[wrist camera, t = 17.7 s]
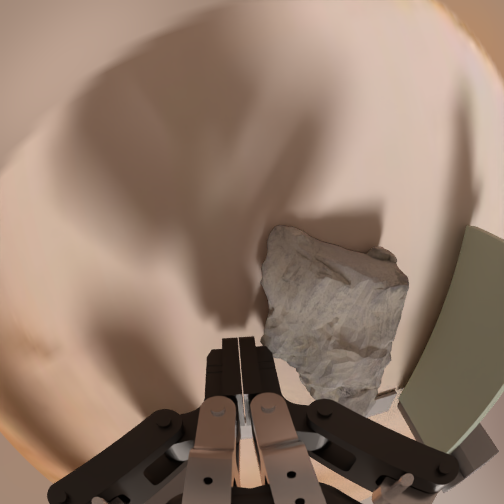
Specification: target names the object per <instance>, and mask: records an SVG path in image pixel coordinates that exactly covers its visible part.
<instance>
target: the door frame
mask: <svg viewBox="0 0 504 504" xmlns="http://www.w3.org/2000/svg"><path fill="white" fill-rule="evenodd" d="M396 394H397V393H396V391H394V392H390V393H387V394H384V395H380V396H377V397H375V400H376V403H375V404H374V405H373V407H372V408H371V410H370V411H369V412H368V414H367V416H366V418H367V417H370V416H374V415H377V414H380V413H384V412H387V411H388V410H389V408H390V406H391V404H392V402H393V400H394V398H395V396H396ZM398 409H399V410H400V412H401V414H402V416H403V417H404V419H405V421H406V423H407V425H408V426H409V428H410V430H411V432H412V434H413V435H414V437H415V439H416V441H417V442H420V443H422V444H424V442H423V440H422V439H421V437H420V435H419V433H418V431H417V430H416V428H415V426H414V424H413V423H412V421H411V419H410V417H409V416H408V414H407V412H406V411H405V409H404V407H403V405H402V404H401V402H400V403H399V404H398ZM240 428H241V439H249V438H252V428H251V425H249V426H247V425H246V420H245V426H240ZM424 445H425V444H424ZM498 452H499V451H498V449H497V448H496V446H495V444H494V443H493V441H492V440H491V438H490V437H489V436H488V434H487V433H486V431H485V430H484V428H483V427H482V425H481V424H480V423H479V424H478V425H477V426H476V427H475V429H474V430H473V431H472V432H471V433H470V434H469V435H468V436H467V437H466V438H465V440H464V441H463V442H462V443H461V444H460V445H459V446H458V447H457V448H456V449H455V450H454V451H453V452H452V453H451V454H450V455H452V456H454V457H455V458H456V459H457V461H458V463H459V472H458V475H457V477H456V478H455V479H454V480H453V481H452V482H451V483H449V484H448V485H447V486H445V487H444V488H443V489H442V491H443V493H445V492H447V491H448V490H450V489H452V488H453V487H455V486H456V485H457V484H459V483H460V482H461V481H463V480H464V479H465V478H467V477H468V476H470V475H471V474H472V473H474V472H475V471H477V470H478V469H479V468H481V467H482V466H483V465H485V463H487V462H488V461H489V460H491V459H492V458H493V457H494V456H495V455H496V454H497V453H498ZM186 469H187V467H186V468H184V469H183V470H182V471H181V472H180V473H179V474H178V475H177V476H176V477H175V478H173V479H172V480H171V481H170V482H169V483H168V484H167V485H165V486H164V487H163V488H162V489H161V490H160V491H158V492H157V493H156V494H155V495H154V496H152V497H151V498H150V499H149V500H148V501H146V502H145V503H144V504H166V503H167V502H168V501H169V500H170V499H172V498H173V497H175V496H177V495H179V494H181V493H183V491H184V483H185V476H186Z"/></svg>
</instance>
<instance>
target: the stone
mask: <svg viewBox="0 0 504 504" xmlns="http://www.w3.org/2000/svg"><path fill="white" fill-rule="evenodd" d="M267 249H268V252H267V257H266V260H265V261H264V263H263V264H262V268H261V270H262V280H261V285H262V287H263V289H264V291H265V294H266V296H267V299H268V304H269V314H268V317H267V321H266V325H265V330H264V335H263V336H262V337H261V341H260V342H261V343H262V345H263V346H267V347H268V349H269V350H270V351H271V352H272V354H273V357H274V358H281V359H283V360H284V361H286V362H287V363H288V364H289V365H290V366H292V367H294V368H296V371H297V372H298V373H299V374H300V376H299V378H300V381H301V382H302V384H303V385H305V387H306V389H307V390H308V392H310V395H311V396H312V397H313V398H314V399H315V400H318V399H331V400H334V401H336V402H338V403H339V404H341V405H343V406H345V407H347V408H349V409H351V410H352V411H354V412H356V413H358V414H360V415H362V416H364V417H366V416H367V414H368V412H369V411H370V410H371V408H372V407H373V405H374V404H375V403H376V400H375V397H376V395H377V394H378V388H379V387H380V384H381V378H382V375H383V373H384V368H385V367H386V366H387V365H388V364H389V362H390V361H391V355H390V352H391V348H392V341H394V339H395V335H396V331H397V327H398V325H399V322H400V319H401V313H402V310H403V307H404V302H405V298H406V294H407V291H408V288H409V282H408V277H407V276H406V275H405V274H404V273H403V272H402V271H401V270H400V269H399V268H398V266H397V264H396V262H397V259H396V257H395V255H394V254H392V253H391V252H390V251H388V250H386V249H384V248H383V247H378V246H376V247H373V248H372V249H370V251H369V252H368V253H367V254H363V253H359V252H356V251H350V250H347V249H345V248H342V247H340V246H337V245H333V244H330V243H326V242H322V241H319V240H317V239H315V238H313V237H310V236H309V235H307V234H306V233H305V232H304V231H302V230H299V229H297V228H294V227H288V226H283V225H278V226H276V227H274V229H273V230H272V231H271V233H270V234H269V238H268V241H267Z"/></svg>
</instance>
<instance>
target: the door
mask: <svg viewBox="0 0 504 504" xmlns="http://www.w3.org/2000/svg"><path fill="white" fill-rule="evenodd" d="M503 392H504V240H503V239H501V238H499V237H497V236H495V235H493V234H491V233H489V232H487V231H485V230H483V229H481V228H478V227H475V226H469V225H466V230H465V234H464V239H463V243H462V247H461V251H460V255H459V258H458V262H457V265H456V269H455V272H454V275H453V278H452V282H451V285H450V288H449V291H448V293H447V296H446V299H445V302H444V305H443V307H442V310H441V312H440V315H439V318H438V320H437V323H436V325H435V327H434V330H433V332H432V334H431V337H430V339H429V341H428V343H427V345H426V348H425V350H424V352H423V354H422V356H421V358H420V360H419V362H418V364H417V366H416V368H415V370H414V372H413V374H412V375H411V377H410V379H409V381H408V383H407V385H406V386H405V388H404V390H403V392H402V393H401V395H400V397H399V398H398V399H399V400H400V402H401V404H402V405H403V407H404V409H405V411H406V412H407V414H408V416H409V417H410V419H411V421H412V423H413V424H414V426H415V428H416V430H417V431H418V433H419V435H420V437H421V439H422V440H423V442H424V444H425V445H427V446H429V447H432V448H434V449H437V450H439V451H442V452H444V453H447V454H451V453H452V452H453V451H454V450H455V449H456V448H457V447H458V446H459V445H460V444H461V443H462V442H463V441H464V440H465V438H466V437H467V436H468V435H469V434H470V433H471V432H472V431H473V430H474V429H475V427H476V426H477V425H478V424H479V423H480V421H481V420H482V419H483V418H484V417H485V415H486V414H487V413H488V412H489V410H490V409H491V408H492V407H493V405H494V404H495V403H496V401H497V400H498V398H499V397H500V396H501V394H502V393H503Z"/></svg>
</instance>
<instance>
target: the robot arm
mask: <svg viewBox="0 0 504 504" xmlns="http://www.w3.org/2000/svg"><path fill="white" fill-rule="evenodd" d="M239 346H240V358H241V370H242V381H243V393H244V404H245V414H246V425H247V426H249V425H251V428H252V438H253V444H254V449H255V453H256V458H257V462H258V467H259V471H260V476H261V482H262V486H259V487H255V488H242V487H241V486H240V439H241V428H240V426H245V420H244V409H243V397H242V386H241V373H240V361H239V350H238V338H222V349H213V350H211V352H210V353H209V355H208V356H207V367H206V384H205V399H204V402H203V403H202V404H201V406H200V407H199V408H198V409H196V410H195V411H192V412H189V413H185V414H181V415H179V414H178V413H177V412H175V411H173V410H169V409H162V410H158V411H156V412H154V413H153V414H151V415H150V416H149V417H147V418H146V419H145V420H144V421H142V422H141V423H140V424H138V425H137V426H136V427H134V428H133V429H132V430H131V431H129V432H128V433H127V434H125V435H124V436H123V437H121V438H120V439H119V440H117V441H116V442H114V443H113V444H112V445H110V446H109V447H108V448H106V449H105V450H103V451H102V452H101V453H99V454H98V455H96V456H95V457H93V458H92V459H91V460H89V461H88V462H86V463H85V464H83V465H82V466H80V467H79V468H77V469H76V470H74V471H73V472H71V473H70V474H68V475H67V476H65V477H64V478H62V479H61V480H59V481H57V482H56V483H54V484H53V485H51V487H50V488H49V490H48V493H47V498H48V501H49V503H50V504H144V503H145V502H146V501H148V500H149V499H150V498H151V497H152V496H154V495H155V494H156V493H157V492H158V491H160V490H161V489H162V488H163V487H164V486H165V485H167V484H168V483H169V482H170V481H171V480H172V479H173V478H175V477H176V476H177V475H178V474H179V473H180V472H181V471H182V470H183V469H184V468H186V467H187V469H186V476H185V483H184V491H183V493H181V494H179V495H177V496H175V497H173V498H172V499H170V500H169V501H168V502H167V503H166V504H362V503H360V502H358V501H356V500H355V499H353V498H351V497H349V496H348V495H346V494H344V493H343V492H341V491H340V490H338V489H336V488H334V487H332V486H330V485H327V484H324V483H320V482H318V479H317V477H316V474H315V471H314V468H313V466H312V463H311V460H310V458H309V456H310V457H311V458H313V459H314V460H316V461H318V462H319V463H321V464H323V465H324V466H326V467H327V468H329V469H331V470H333V471H334V472H336V473H338V474H339V475H341V476H343V477H345V478H347V479H348V480H350V481H352V482H354V483H356V484H358V485H360V486H361V487H363V488H365V489H367V490H369V491H371V492H373V494H372V502H373V504H432V502H433V500H434V499H435V497H436V495H437V493H438V492H439V491H440V490H441V489H443V488H444V487H445V486H447V485H448V484H449V483H451V482H452V481H453V480H454V479H455V478H456V477H457V475H458V472H459V463H458V461H457V459H456V458H455V457H454V456H452V455H450V454H447V453H444V452H442V451H439V450H437V449H434V448H432V447H429V446H427V445H424V444H422V443H420V442H417V441H415V440H413V439H410V438H408V437H406V436H404V435H401V434H399V433H397V432H395V431H393V430H391V429H388V428H386V427H384V426H382V425H380V424H378V423H376V422H374V421H372V420H370V419H368V418H366V417H364V416H362V415H360V414H358V413H356V412H354V411H352V410H351V409H349V408H347V407H345V406H343V405H341V404H339V403H338V402H336V401H334V400H331V399H318V400H316V401H314V402H312V403H311V404H310V405H309V406H308V405H299V404H294V403H291V402H289V401H287V400H286V399H285V398H284V397H283V395H282V394H281V390H280V386H279V381H278V377H277V372H276V369H275V363H274V359H273V354H272V352H271V351H270V350H269V349H268V347H267V346H258V347H256V346H255V339H254V336H251V337H239Z"/></svg>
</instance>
